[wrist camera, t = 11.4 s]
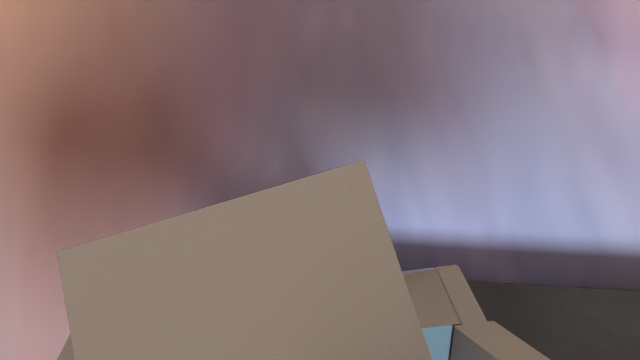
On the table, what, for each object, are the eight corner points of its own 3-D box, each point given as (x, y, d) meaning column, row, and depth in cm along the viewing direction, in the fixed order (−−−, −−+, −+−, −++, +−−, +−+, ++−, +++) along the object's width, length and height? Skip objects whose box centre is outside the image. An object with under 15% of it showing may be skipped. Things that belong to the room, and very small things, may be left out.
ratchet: (194, 401, 16) (130, 466, 10) (215, 211, 17) (168, 186, 12) (864, 444, 15) (1144, 534, 10) (824, 245, 17) (1048, 233, 12)
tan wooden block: (341, 219, 15) (363, 159, 7) (388, 366, 14) (479, 497, 6) (202, 262, 14) (57, 252, 6) (239, 415, 13) (119, 625, 5)
